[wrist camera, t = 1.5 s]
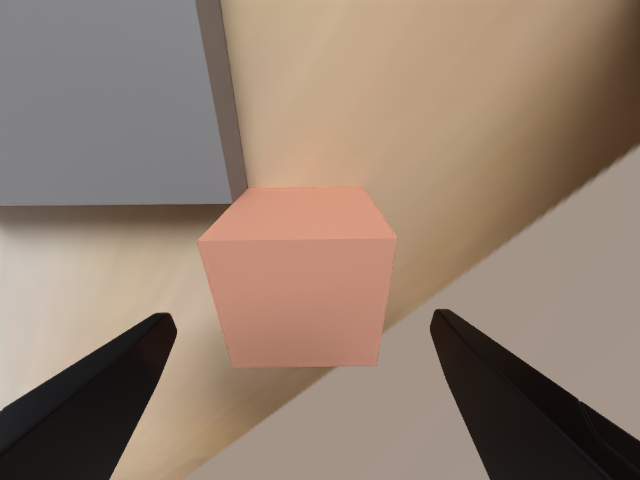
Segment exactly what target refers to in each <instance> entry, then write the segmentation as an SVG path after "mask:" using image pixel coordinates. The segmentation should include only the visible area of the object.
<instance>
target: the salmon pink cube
mask: <svg viewBox="0 0 640 480" xmlns="http://www.w3.org/2000/svg"><path fill="white" fill-rule="evenodd" d="M197 243H198V247H199V250H200V254H201V257H202V261H203V264H204V268H205V271H206V275H207V278H208V282H209V286H210V289H211V293H212V296H213V300H214V303H215V307H216V310H217V314H218V317H219V321H220V324H221V328H222V332H223V335H224V339H225V342H226V346H227V349H228V353H229V356H230V360H231V363H232V367H233V368H278V367H332V366H376V365H377V359H378V354H379V348H380V342H381V336H382V329H383V323H384V317H385V311H386V305H387V299H388V293H389V287H390V281H391V275H392V269H393V262H394V256H395V250H396V244H397V237H396V235H395V234H394V232H393V231H392V229H391V228H390V227H389V225H388V224H387V222H386V221H385V219H384V218H383V216H382V215H381V213H380V212H379V210H378V209H377V207H376V206H375V204H374V203H373V201H372V200H371V198H370V197H369V195H368V194H367V192H366V191H365V189H364V188H363V187H292V188H247V189H246V191H245V192H244V193H243V194H242V195H241V196H240V197H239V198H238V199H237V200H236V201H235V202H234V203H233V204H232V205H231V206H230V207H229V208H228V209H227V210H226V211H225V212H224V213H223V214H222V215H221V216H220V217H219V219H218V220H217V221H216V222H215V223H214V224H213V225H212V226H211V227H210V228H209V229H208V230H207V231H206V232H205V233H204V234H203V235H202V236H201V237H200V238H199V239H198V240H197Z"/></svg>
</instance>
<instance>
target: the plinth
mask: <svg viewBox="0 0 640 480" xmlns="http://www.w3.org/2000/svg"><path fill="white" fill-rule="evenodd" d="M247 188H248V186H247V179H246V173H245V166H244V159H243V153H242V146H241V139H240V133H239V126H238V119H237V113H236V106H235V99H234V92H233V86H232V79H231V72H230V66H229V59H228V52H227V46H226V39H225V32H224V26H223V19H222V12H221V6H220V0H0V206H49V205H151V204H233V203H234V202H235V201H236V200H237V199H238V198H239V197H240V196H241V195H242V193H243V192H244V191H245V190H246V189H247Z"/></svg>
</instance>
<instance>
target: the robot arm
mask: <svg viewBox="0 0 640 480" xmlns="http://www.w3.org/2000/svg"><path fill="white" fill-rule="evenodd" d="M430 333H431V336H432V339H433V342H434V345H435V348H436V351H437V354H438V357H439V360H440V363H441V366H442V369H443V372H444V375H445V378H446V380H447V383H448V385H449V388H450V389H451V392H452V394H453V396H454V399H455V401H456V403H457V406H458V408H459V410H460V413H461V415H462V417H463V419H464V422H465V424H466V426H467V428H468V430H469V433H470V435H471V437H472V439H473V442H474V444H475V446H476V449H477V451H478V453H479V455H480V458H481V460H482V462H483V464H484V467H485V469H486V471H487V474H488V476H489V478H490V480H640V441H639V440H637V439H636V438H634V437H633V436H631V435H630V434H629V433H627V432H626V431H624V430H623V429H621V428H620V427H618V426H617V425H615V424H614V423H612V422H611V421H609V420H608V419H606V418H605V417H604V416H602V415H601V414H599V413H598V412H596V411H595V410H593V409H592V408H591V407H589V406H588V405H586V404H585V403H583V402H581V401H579V400H578V399H577V398H576V397H575V396H573V395H572V394H570V393H569V392H567V391H566V390H564V389H563V388H562V387H560V386H559V385H557V384H556V383H554V382H553V381H552V380H550V379H549V378H547V377H546V376H544V375H543V374H541V373H540V372H539V371H537V370H536V369H534V368H533V367H531V366H530V365H529V364H527V363H526V362H524V361H523V360H521V359H520V358H518V357H517V356H516V355H514V354H513V353H511V352H510V351H508V350H507V349H505V348H504V347H502V346H501V345H500V344H498V343H497V342H495V341H494V340H492V339H491V338H490V337H488V336H487V335H485V334H484V333H482V332H481V331H480V330H478V329H477V328H475V327H474V326H472V325H471V324H469V323H468V322H467V321H465V320H464V319H462V318H461V317H459V316H458V315H456V314H455V313H453V312H452V311H451V310H449V309H436V310H435V311H434V314H433V318H432V321H431V324H430ZM176 336H177V328H176V326H175V323H174V321H173V318H172V316H171V314H169V313H155V314H153V315H151V316H150V317H148V318H147V319H145V320H143V321H142V322H140V323H139V324H137V325H135V326H134V327H132V328H131V329H129V330H127V331H126V332H124V333H123V334H121V335H119V336H118V337H116V338H115V339H113V340H111V341H110V342H108V343H107V344H105V345H103V346H102V347H100V348H99V349H97V350H95V351H94V352H92V353H91V354H89V355H87V356H86V357H84V358H83V359H81V360H79V361H78V362H76V363H75V364H73V365H71V366H70V367H68V368H67V369H65V370H63V371H62V372H60V373H59V374H57V375H55V376H54V377H52V378H51V379H49V380H47V381H46V382H44V383H43V384H41V385H39V386H38V387H36V388H35V389H33V390H31V391H30V392H28V393H27V394H25V395H23V396H22V397H20V398H19V399H17V400H15V401H14V402H12V403H11V404H9V405H7V406H6V407H4V408H3V409H2V411H0V480H109V479H110V477H111V475H112V473H113V471H114V469H115V467H116V466H117V464H118V462H119V460H120V458H121V456H122V454H123V452H124V450H125V448H126V446H127V444H128V442H129V440H130V438H131V436H132V434H133V432H134V430H135V428H136V426H137V424H138V422H139V420H140V418H141V416H142V414H143V412H144V410H145V408H146V406H147V404H148V402H149V400H150V398H151V396H152V394H153V392H154V390H155V388H156V386H157V384H158V382H159V379H160V377H161V375H162V372H163V370H164V367H165V364H166V362H167V359H168V357H169V354H170V352H171V349H172V347H173V344H174V342H175V339H176Z"/></svg>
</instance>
